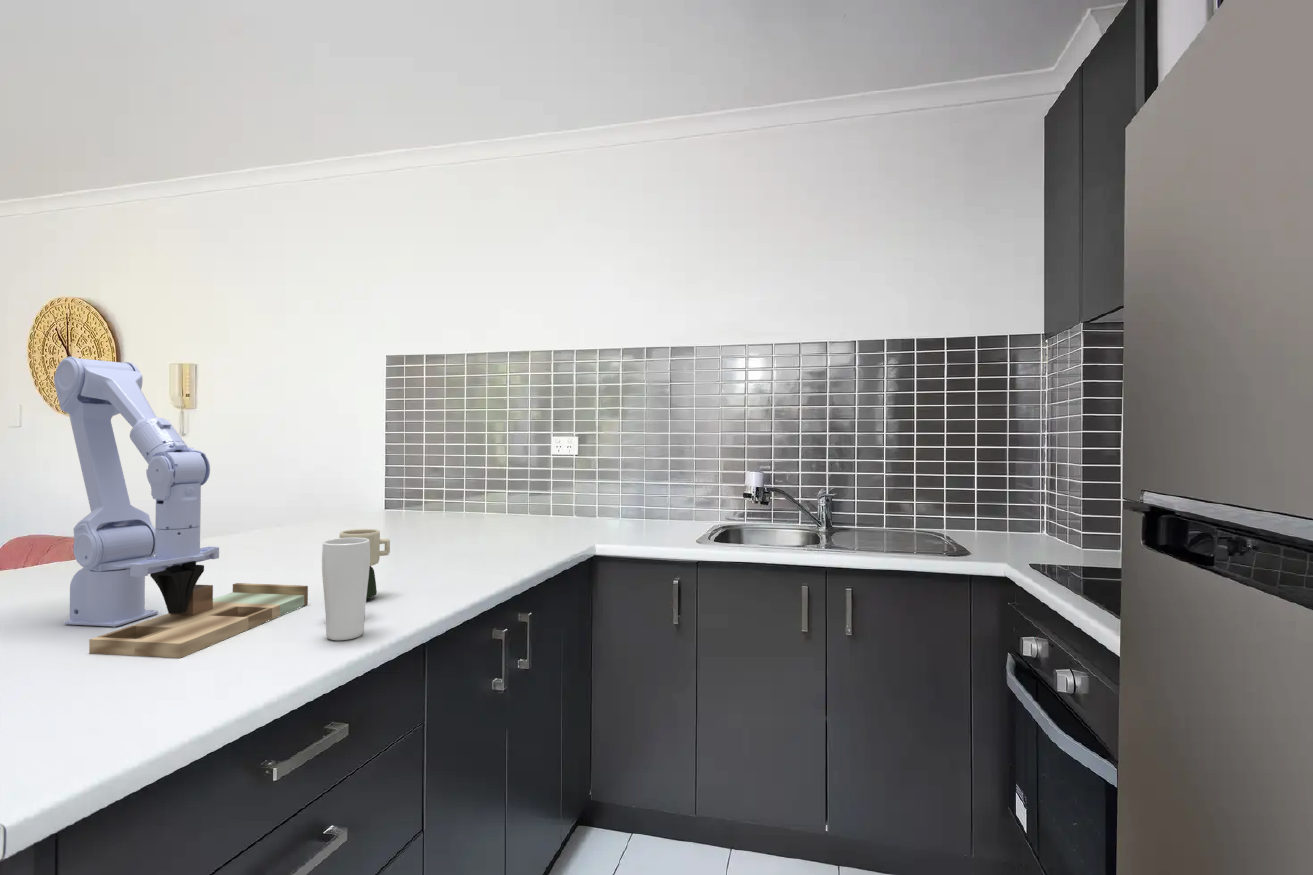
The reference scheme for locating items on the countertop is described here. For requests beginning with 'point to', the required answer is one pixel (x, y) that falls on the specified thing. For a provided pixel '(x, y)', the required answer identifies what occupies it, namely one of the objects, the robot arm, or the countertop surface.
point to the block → (199, 600)
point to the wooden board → (203, 623)
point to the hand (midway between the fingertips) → (177, 612)
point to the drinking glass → (345, 586)
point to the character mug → (374, 552)
